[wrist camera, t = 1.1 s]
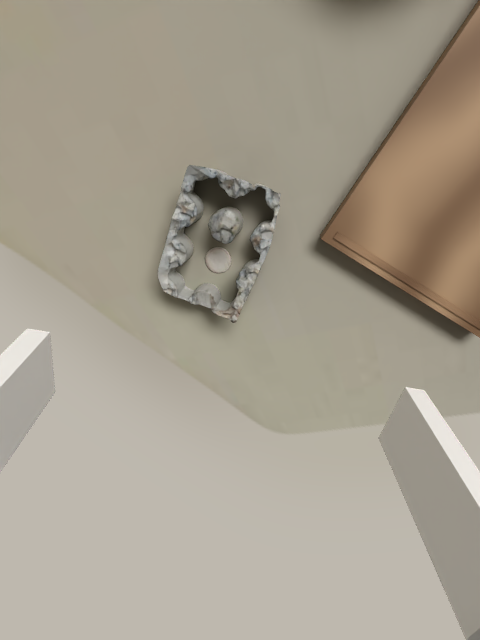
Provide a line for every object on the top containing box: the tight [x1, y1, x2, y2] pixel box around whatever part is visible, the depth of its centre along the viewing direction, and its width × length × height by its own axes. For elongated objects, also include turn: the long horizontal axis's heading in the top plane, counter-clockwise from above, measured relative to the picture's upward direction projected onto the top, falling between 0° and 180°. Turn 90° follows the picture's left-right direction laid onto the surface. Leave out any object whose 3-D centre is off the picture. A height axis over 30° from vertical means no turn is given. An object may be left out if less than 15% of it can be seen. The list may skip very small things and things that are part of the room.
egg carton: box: [158, 165, 281, 323], centre depth 28 cm, size 11×8×4 cm
